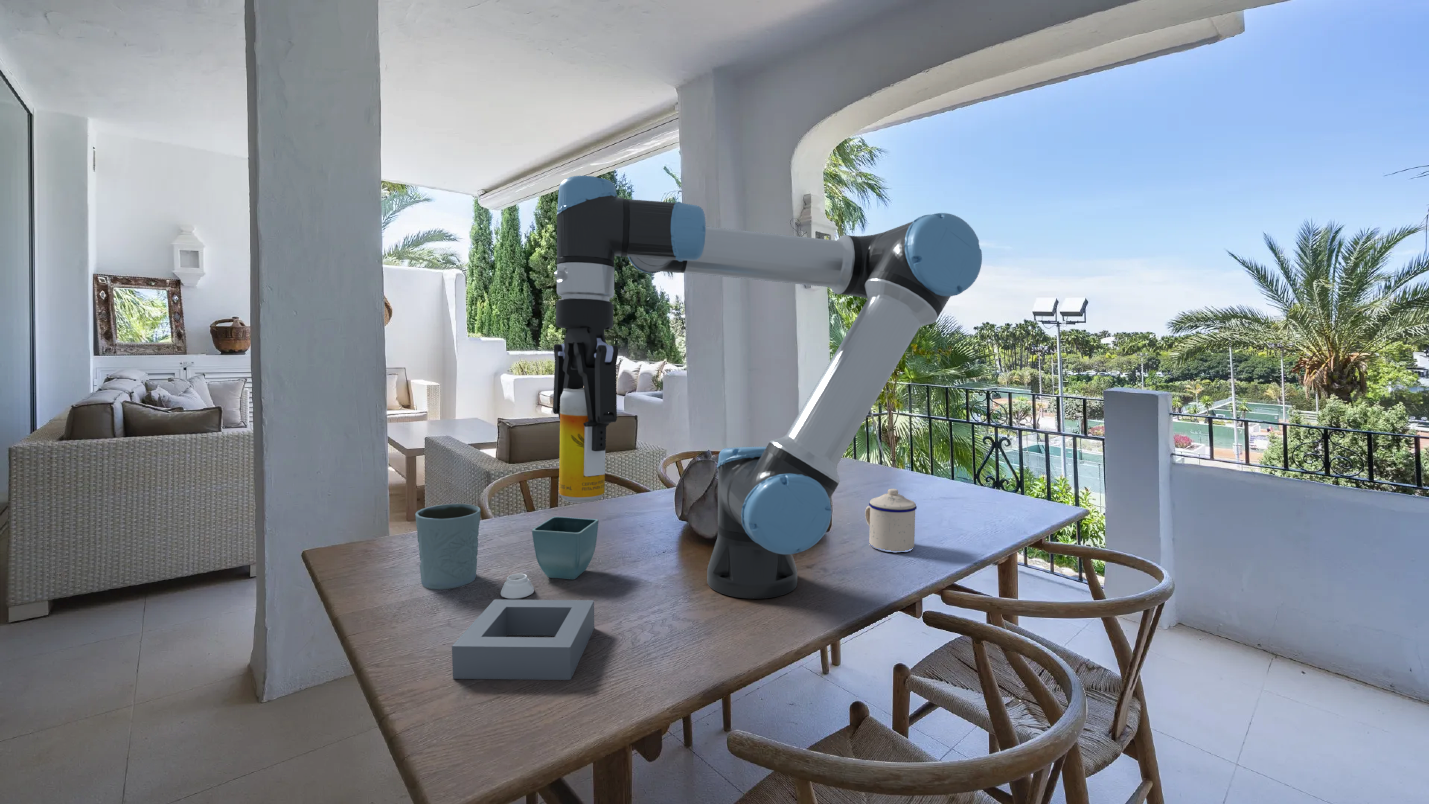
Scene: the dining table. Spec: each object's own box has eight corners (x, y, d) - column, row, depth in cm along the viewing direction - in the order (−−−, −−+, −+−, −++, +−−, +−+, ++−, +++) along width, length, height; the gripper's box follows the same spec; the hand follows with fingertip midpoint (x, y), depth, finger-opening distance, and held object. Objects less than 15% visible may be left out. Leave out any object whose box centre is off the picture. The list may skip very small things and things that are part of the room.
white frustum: (527, 586, 105) (496, 593, 102) (527, 569, 104) (496, 575, 101) (538, 596, 100) (506, 603, 98) (537, 578, 100) (506, 585, 97)
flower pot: (580, 585, 105) (579, 532, 104) (531, 581, 106) (530, 529, 106) (600, 568, 113) (599, 518, 112) (554, 564, 115) (553, 516, 114)
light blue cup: (425, 571, 111) (423, 504, 110) (486, 567, 113) (484, 501, 112) (410, 593, 101) (408, 519, 100) (477, 588, 103) (475, 516, 102)
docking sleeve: (594, 627, 89) (594, 600, 88) (570, 679, 75) (570, 647, 74) (495, 627, 89) (494, 599, 89) (452, 678, 75) (451, 646, 75)
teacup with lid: (925, 550, 124) (927, 491, 123) (890, 557, 120) (892, 496, 119) (882, 534, 134) (883, 480, 133) (848, 540, 130) (850, 484, 129)
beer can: (590, 505, 82) (592, 391, 81) (550, 501, 84) (551, 388, 83) (612, 496, 88) (614, 389, 87) (573, 491, 90) (575, 386, 89)
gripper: (528, 300, 89) (527, 462, 91) (595, 293, 74) (592, 486, 76) (576, 304, 94) (574, 458, 96) (648, 298, 79) (644, 480, 81)
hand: (582, 470), depth 86 cm, fingers closed on beer can, 6 cm apart
